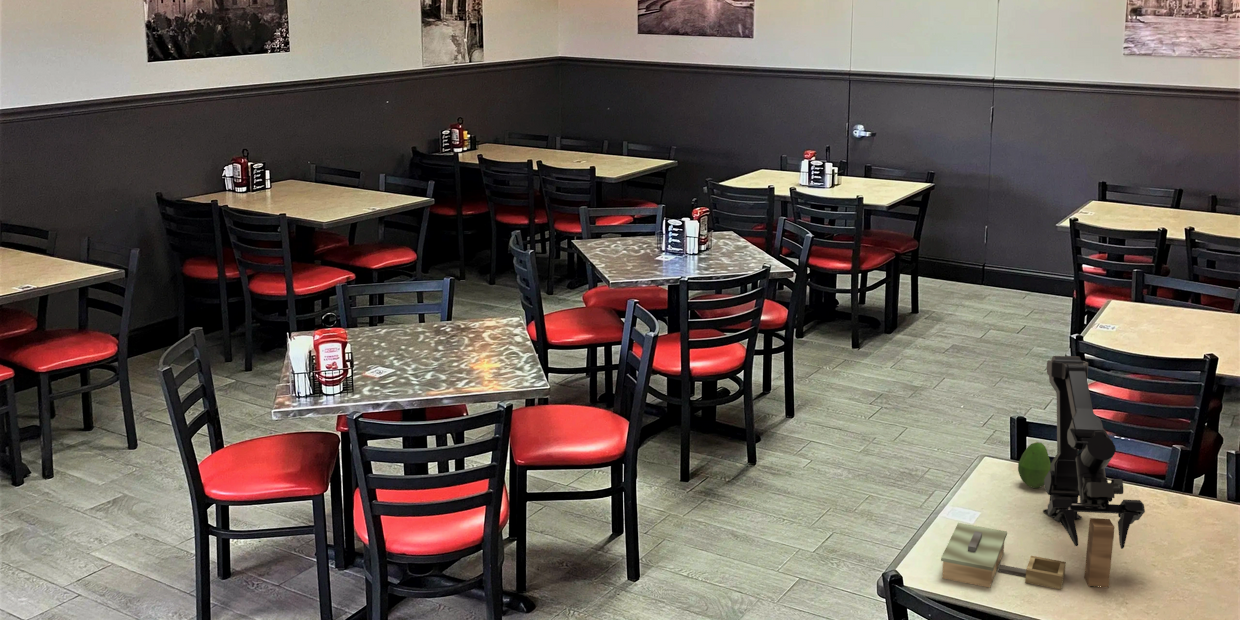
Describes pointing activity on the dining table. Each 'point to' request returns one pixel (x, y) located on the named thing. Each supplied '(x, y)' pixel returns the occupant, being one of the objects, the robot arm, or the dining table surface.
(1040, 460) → the avocado
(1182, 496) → the dining table surface
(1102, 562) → the brown wooden block
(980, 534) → the wooden box with frame
